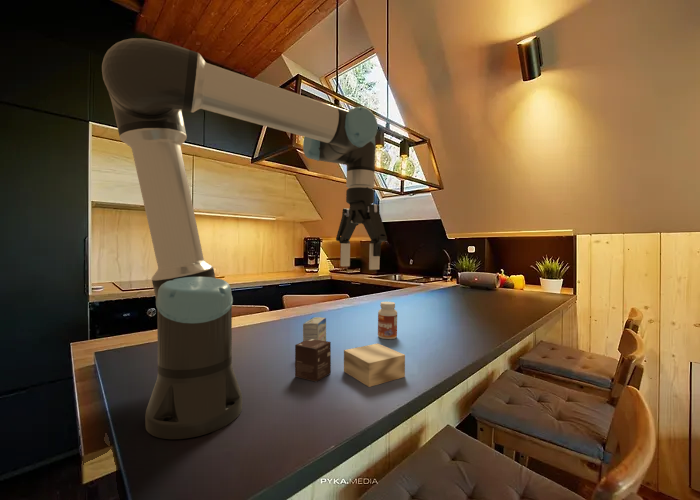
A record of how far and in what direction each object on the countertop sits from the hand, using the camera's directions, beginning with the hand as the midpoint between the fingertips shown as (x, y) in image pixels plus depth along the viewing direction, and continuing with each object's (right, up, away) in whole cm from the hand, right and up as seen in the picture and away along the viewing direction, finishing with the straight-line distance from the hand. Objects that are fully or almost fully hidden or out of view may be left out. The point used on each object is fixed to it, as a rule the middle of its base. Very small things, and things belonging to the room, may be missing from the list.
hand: (358, 267), depth 88 cm
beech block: (+3, -24, -13) cm, 27 cm away
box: (-11, -24, -13) cm, 29 cm away
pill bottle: (+10, -24, +18) cm, 31 cm away
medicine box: (-12, -24, +3) cm, 27 cm away
